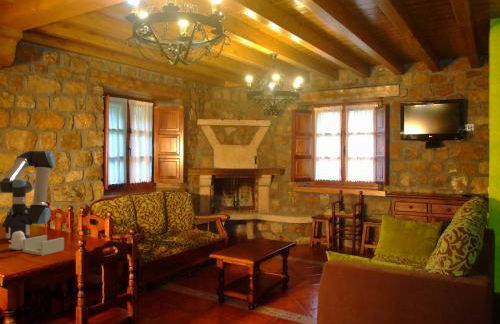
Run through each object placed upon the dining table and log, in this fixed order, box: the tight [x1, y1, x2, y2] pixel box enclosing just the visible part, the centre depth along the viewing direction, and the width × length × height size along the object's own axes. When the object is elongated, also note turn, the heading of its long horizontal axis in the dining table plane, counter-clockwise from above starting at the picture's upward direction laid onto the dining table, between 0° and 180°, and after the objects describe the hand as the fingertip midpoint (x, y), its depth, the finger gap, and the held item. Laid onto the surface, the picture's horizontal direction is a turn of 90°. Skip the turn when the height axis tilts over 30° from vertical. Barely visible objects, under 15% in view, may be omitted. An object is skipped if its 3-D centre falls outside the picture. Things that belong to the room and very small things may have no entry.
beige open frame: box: [22, 234, 65, 256], centre depth 260 cm, size 17×16×8 cm
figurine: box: [7, 230, 26, 251], centre depth 262 cm, size 10×10×12 cm
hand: (18, 236), depth 262 cm, fingers open, 13 cm apart
